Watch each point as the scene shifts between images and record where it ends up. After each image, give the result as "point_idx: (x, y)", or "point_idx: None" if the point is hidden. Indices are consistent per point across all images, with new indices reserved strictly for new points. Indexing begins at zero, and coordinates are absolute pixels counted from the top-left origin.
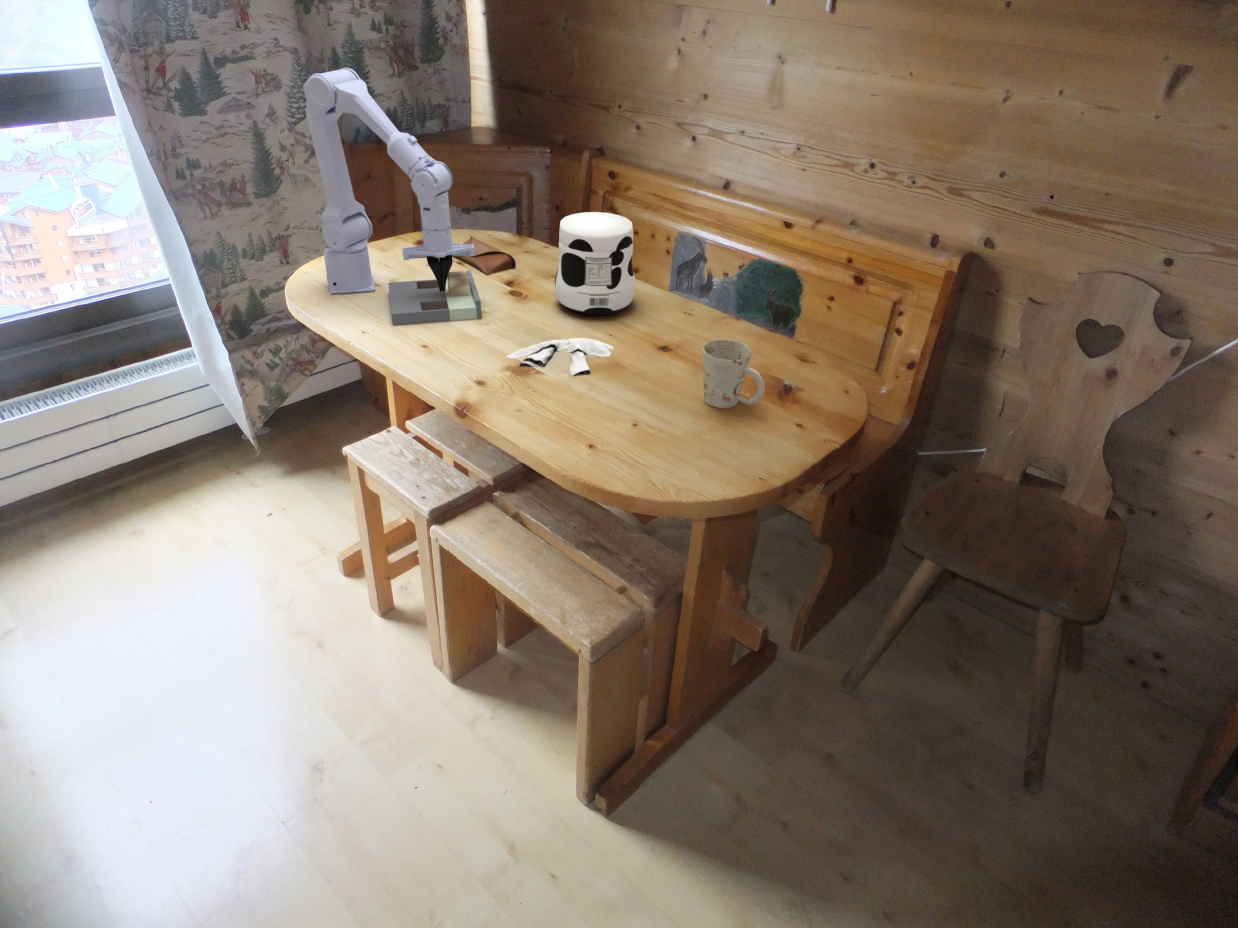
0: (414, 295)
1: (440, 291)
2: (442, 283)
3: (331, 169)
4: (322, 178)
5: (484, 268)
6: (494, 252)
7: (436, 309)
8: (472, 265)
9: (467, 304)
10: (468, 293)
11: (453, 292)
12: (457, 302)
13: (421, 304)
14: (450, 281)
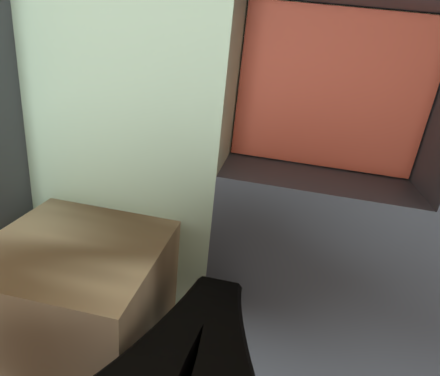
0: (428, 336)
1: (237, 285)
2: (201, 318)
3: None
4: None
5: None
6: None
7: (302, 169)
8: None
9: (70, 33)
10: (44, 207)
11: (142, 232)
12: (143, 103)
13: (419, 202)
14: (116, 299)
